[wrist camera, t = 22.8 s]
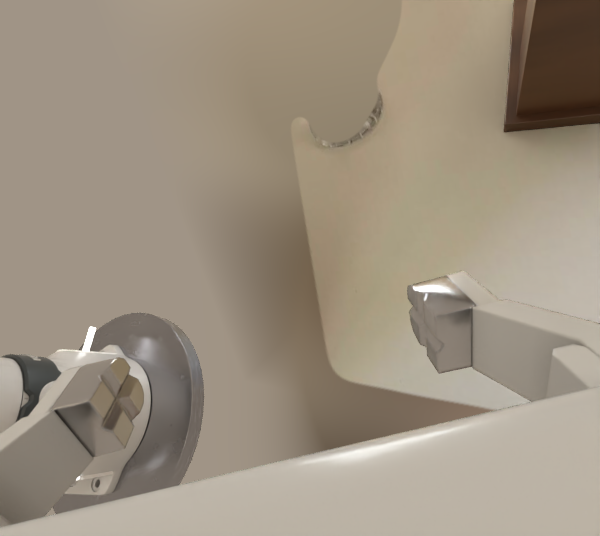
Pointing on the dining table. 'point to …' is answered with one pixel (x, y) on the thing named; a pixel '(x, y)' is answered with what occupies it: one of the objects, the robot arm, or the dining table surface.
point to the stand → (553, 64)
